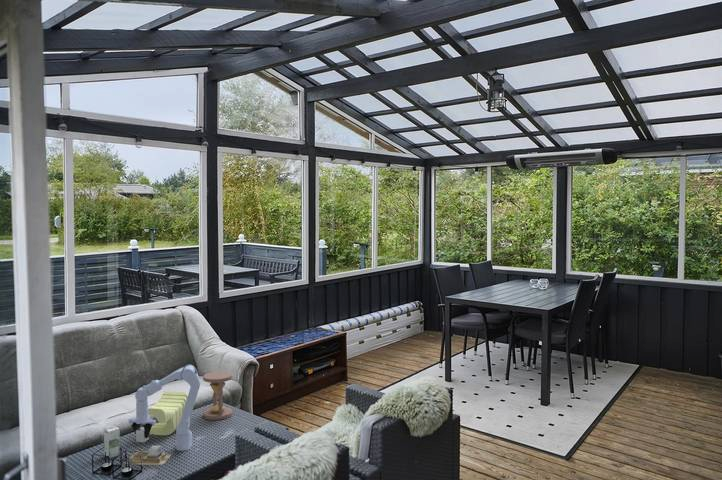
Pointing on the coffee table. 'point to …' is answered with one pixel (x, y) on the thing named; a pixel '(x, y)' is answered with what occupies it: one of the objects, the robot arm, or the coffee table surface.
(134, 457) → the pallet
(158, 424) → the slatted curved stool
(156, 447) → the billet
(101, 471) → the coffee table surface
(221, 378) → the hourglass
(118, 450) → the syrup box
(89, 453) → the coffee table surface
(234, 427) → the coffee table surface
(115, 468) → the coffee table surface
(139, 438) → the billet
